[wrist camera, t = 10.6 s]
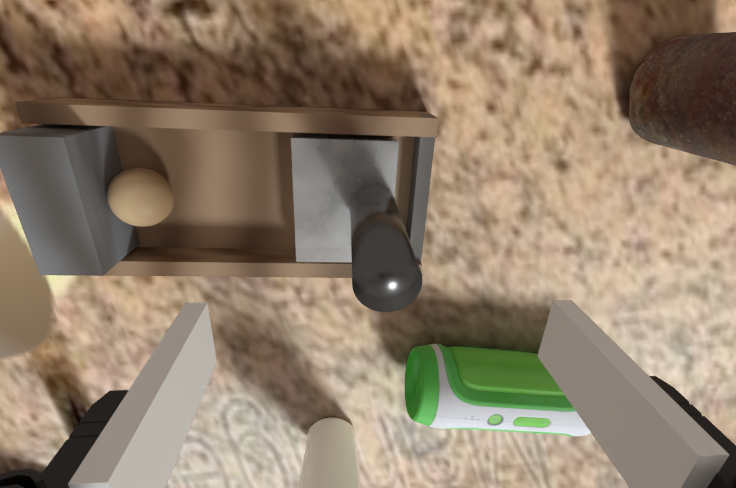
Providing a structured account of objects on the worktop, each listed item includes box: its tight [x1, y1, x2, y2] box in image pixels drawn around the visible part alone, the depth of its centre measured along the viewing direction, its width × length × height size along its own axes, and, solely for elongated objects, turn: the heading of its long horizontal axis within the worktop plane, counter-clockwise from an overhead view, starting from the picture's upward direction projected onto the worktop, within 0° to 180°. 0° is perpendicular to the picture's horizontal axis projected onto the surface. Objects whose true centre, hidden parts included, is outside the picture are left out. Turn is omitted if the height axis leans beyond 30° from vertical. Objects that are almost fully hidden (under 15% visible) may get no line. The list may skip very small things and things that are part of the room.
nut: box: [107, 168, 174, 226], centre depth 26 cm, size 4×4×4 cm
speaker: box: [405, 344, 591, 436], centre depth 36 cm, size 18×7×8 cm, turn 81°
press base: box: [0, 98, 439, 278], centre depth 27 cm, size 26×12×6 cm, turn 88°
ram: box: [291, 133, 422, 312], centre depth 23 cm, size 7×9×13 cm
